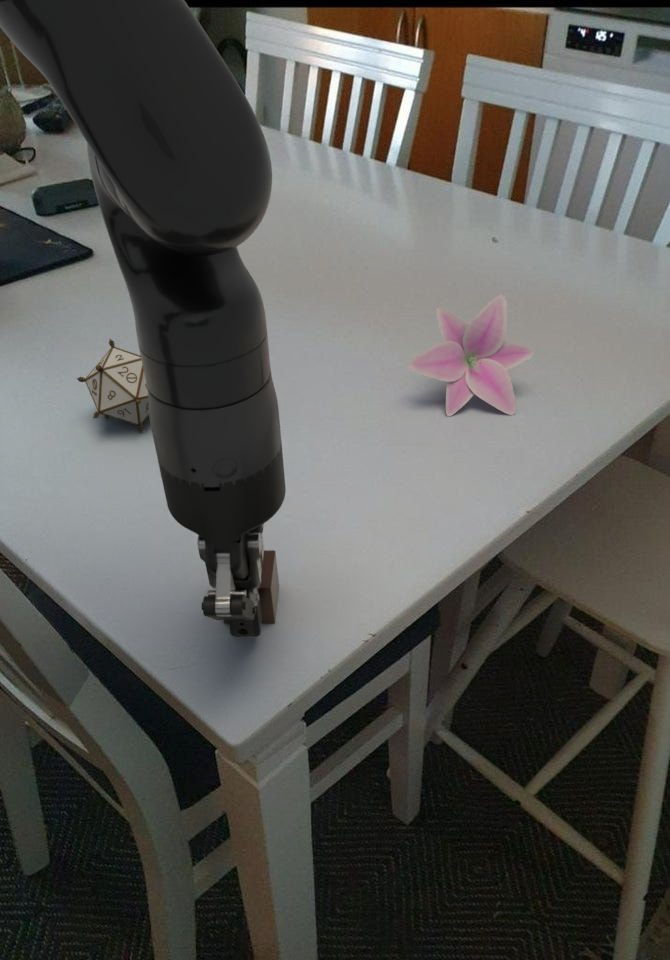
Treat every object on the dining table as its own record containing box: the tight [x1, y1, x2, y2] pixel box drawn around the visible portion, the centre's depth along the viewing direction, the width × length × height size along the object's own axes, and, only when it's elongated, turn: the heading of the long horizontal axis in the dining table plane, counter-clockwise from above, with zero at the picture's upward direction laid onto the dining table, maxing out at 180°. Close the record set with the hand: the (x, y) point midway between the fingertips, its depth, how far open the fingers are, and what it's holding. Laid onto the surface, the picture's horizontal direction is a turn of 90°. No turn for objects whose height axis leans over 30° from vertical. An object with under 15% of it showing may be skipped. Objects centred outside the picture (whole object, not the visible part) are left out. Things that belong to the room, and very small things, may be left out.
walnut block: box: [222, 549, 280, 624], centre depth 62 cm, size 4×4×4 cm
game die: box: [76, 338, 149, 434], centre depth 81 cm, size 9×8×10 cm
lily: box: [406, 294, 535, 417], centre depth 83 cm, size 12×12×10 cm
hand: (246, 629), depth 60 cm, fingers closed
